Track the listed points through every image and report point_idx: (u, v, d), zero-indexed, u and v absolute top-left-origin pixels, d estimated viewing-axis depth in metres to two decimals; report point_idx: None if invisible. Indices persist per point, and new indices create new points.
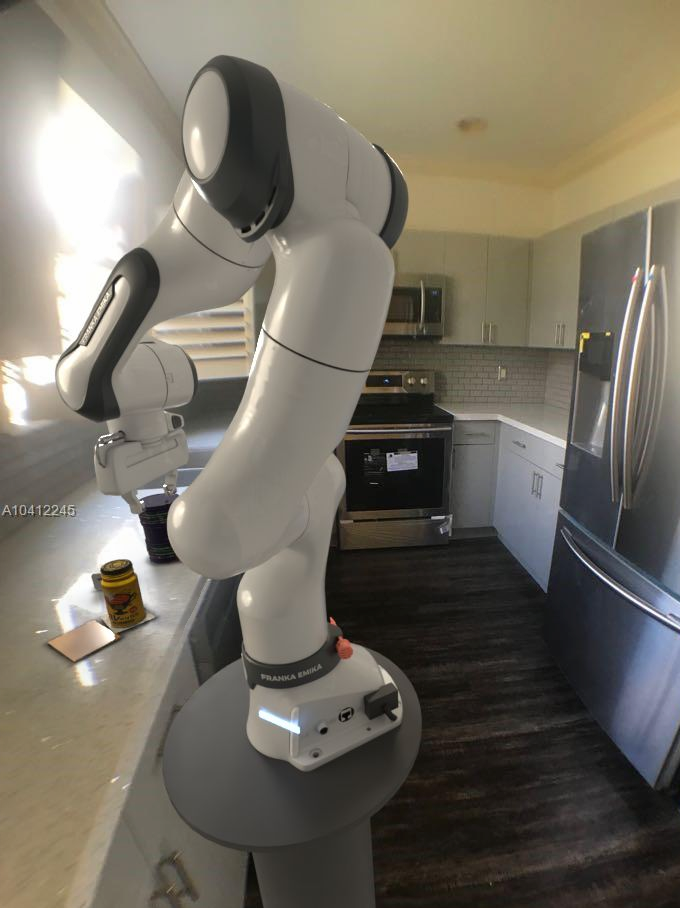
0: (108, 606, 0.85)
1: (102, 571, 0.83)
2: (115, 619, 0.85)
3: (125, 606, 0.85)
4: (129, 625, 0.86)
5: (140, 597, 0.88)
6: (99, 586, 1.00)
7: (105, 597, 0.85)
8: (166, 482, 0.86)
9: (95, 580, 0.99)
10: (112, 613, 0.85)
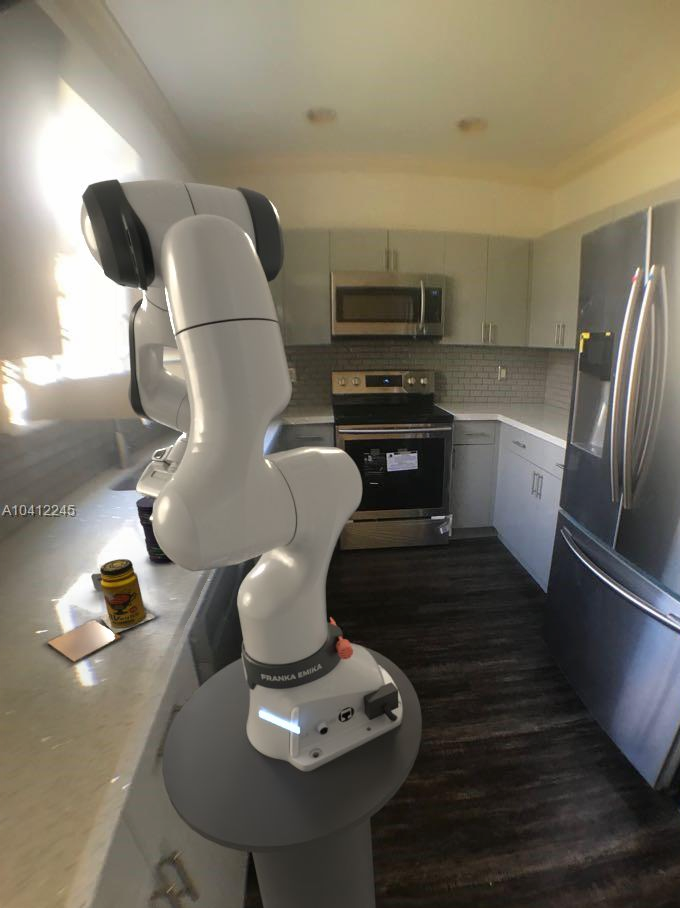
0: (108, 606, 0.85)
1: (102, 571, 0.83)
2: (115, 619, 0.85)
3: (125, 606, 0.85)
4: (129, 625, 0.86)
5: (140, 597, 0.88)
6: (99, 586, 1.00)
7: (105, 597, 0.85)
8: None
9: (95, 580, 0.99)
10: (112, 613, 0.85)
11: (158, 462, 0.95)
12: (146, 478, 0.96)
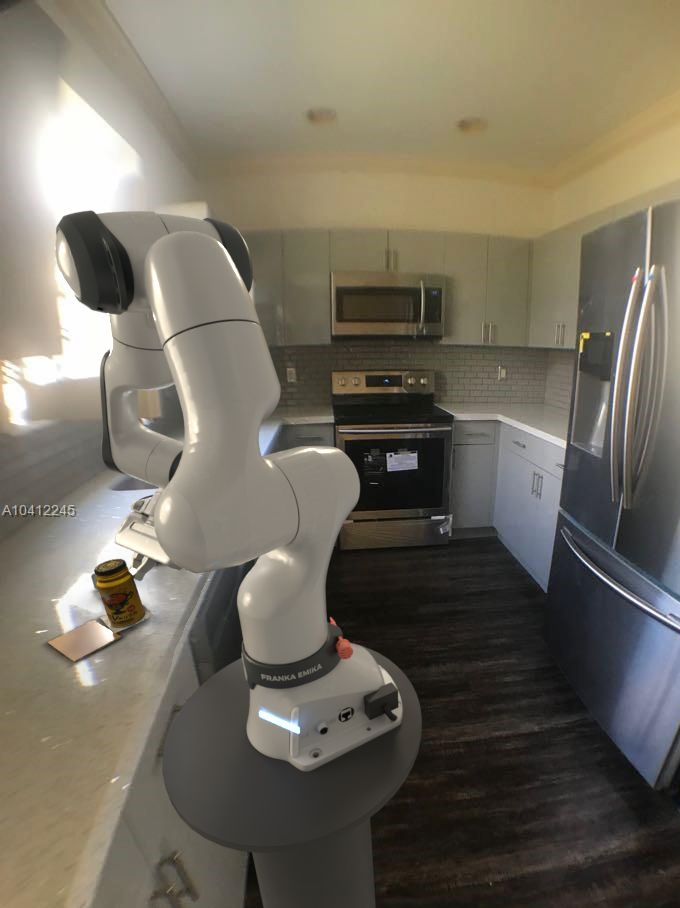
0: (106, 607, 0.85)
1: (96, 572, 0.82)
2: (114, 619, 0.85)
3: (123, 605, 0.85)
4: (129, 624, 0.86)
5: (137, 595, 0.87)
6: None
7: (102, 598, 0.84)
8: (133, 565, 0.90)
9: (95, 580, 0.99)
10: (110, 613, 0.85)
11: (137, 513, 0.93)
12: (125, 529, 0.94)
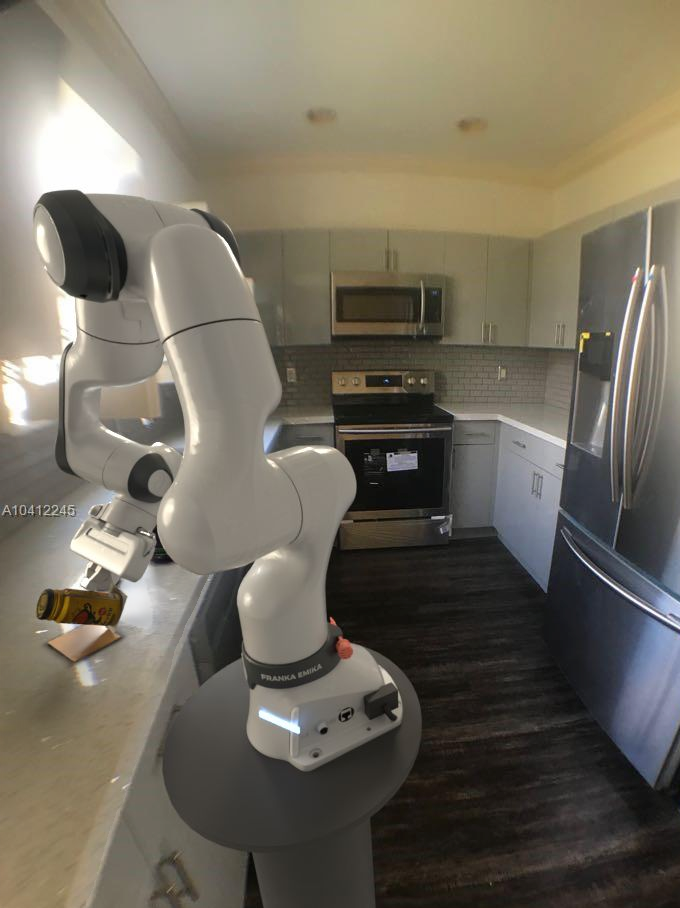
0: None
1: (39, 619, 0.77)
2: (102, 624, 0.84)
3: (93, 617, 0.81)
4: (117, 618, 0.85)
5: (96, 598, 0.82)
6: (99, 586, 1.00)
7: None
8: (87, 575, 0.84)
9: None
10: (94, 624, 0.83)
11: (94, 519, 0.87)
12: (81, 535, 0.88)
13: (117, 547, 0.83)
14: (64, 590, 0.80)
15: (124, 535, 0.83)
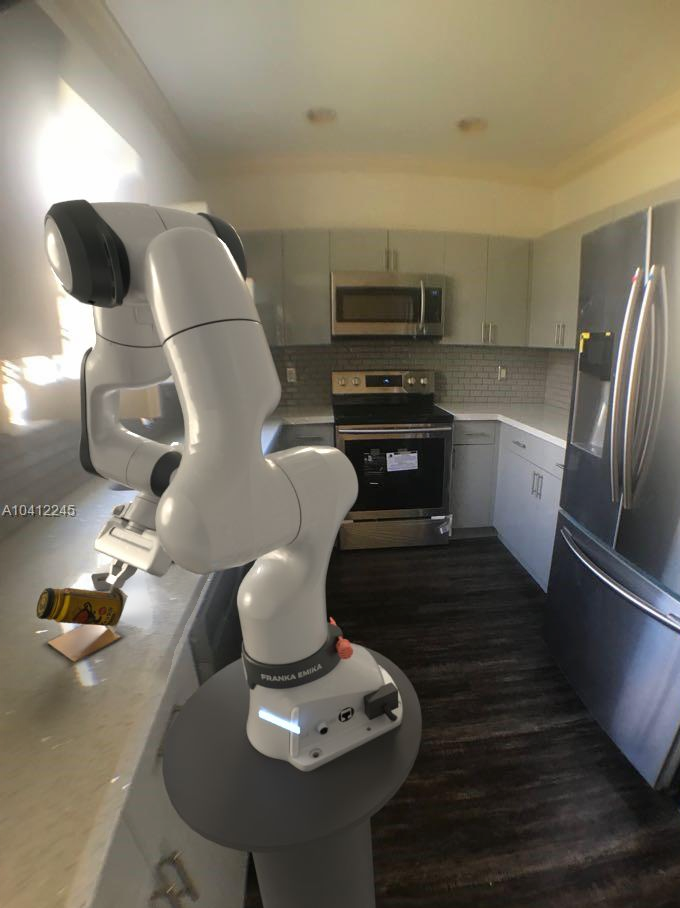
0: None
1: (39, 618, 0.78)
2: (103, 624, 0.84)
3: (93, 616, 0.81)
4: (117, 618, 0.85)
5: (96, 597, 0.82)
6: (99, 586, 1.00)
7: None
8: (112, 572, 0.87)
9: (95, 580, 0.99)
10: (94, 624, 0.83)
11: (117, 518, 0.90)
12: (104, 535, 0.91)
13: (141, 544, 0.85)
14: (64, 589, 0.80)
15: (148, 532, 0.86)
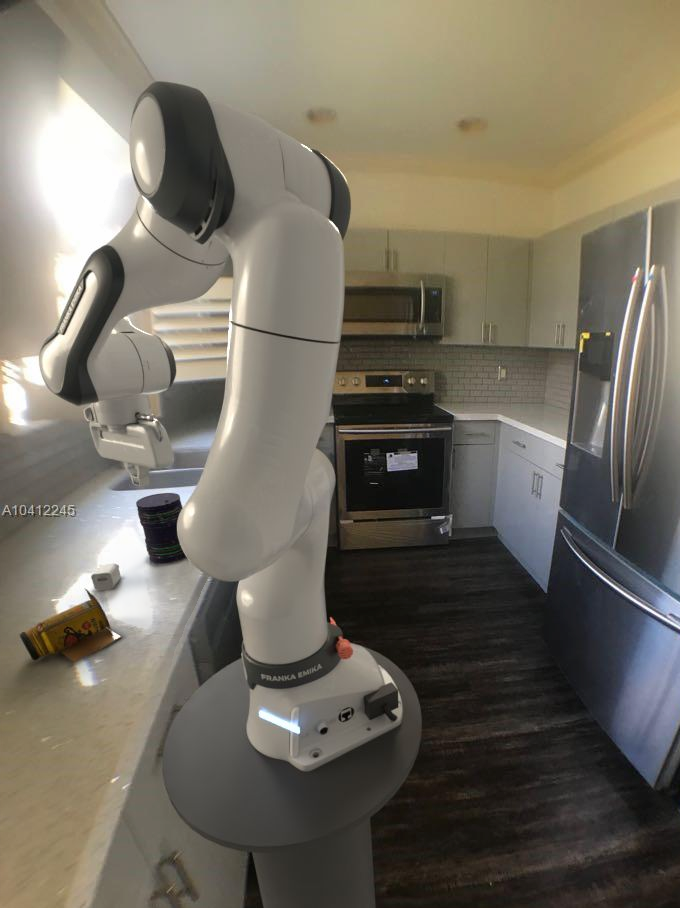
0: None
1: None
2: (98, 631, 0.84)
3: (81, 634, 0.80)
4: (106, 622, 0.83)
5: (72, 618, 0.80)
6: (99, 586, 1.00)
7: None
8: (132, 473, 0.86)
9: (95, 580, 0.99)
10: (90, 635, 0.83)
11: (95, 423, 0.83)
12: (99, 441, 0.87)
13: (133, 442, 0.80)
14: (37, 626, 0.78)
15: (130, 429, 0.79)
